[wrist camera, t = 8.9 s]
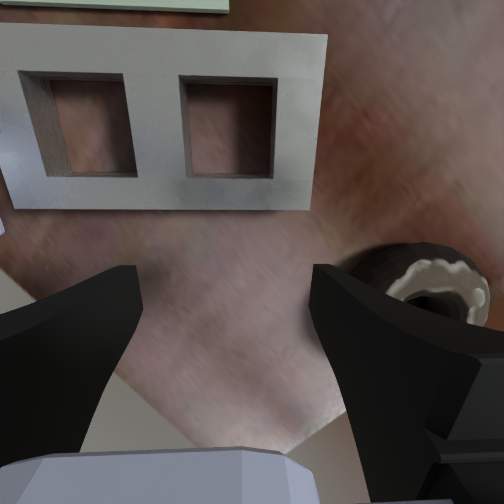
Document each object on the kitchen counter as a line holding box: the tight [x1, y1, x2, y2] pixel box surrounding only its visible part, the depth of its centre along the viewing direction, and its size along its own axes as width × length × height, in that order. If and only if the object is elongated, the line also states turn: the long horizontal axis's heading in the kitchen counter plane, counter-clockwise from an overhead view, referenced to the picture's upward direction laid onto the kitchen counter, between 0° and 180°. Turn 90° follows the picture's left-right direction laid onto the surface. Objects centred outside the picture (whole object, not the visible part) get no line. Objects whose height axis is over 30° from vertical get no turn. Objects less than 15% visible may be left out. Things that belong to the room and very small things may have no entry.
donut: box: [350, 242, 490, 327], centre depth 21 cm, size 12×12×4 cm
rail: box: [0, 23, 328, 210], centre depth 16 cm, size 18×9×2 cm, turn 89°
